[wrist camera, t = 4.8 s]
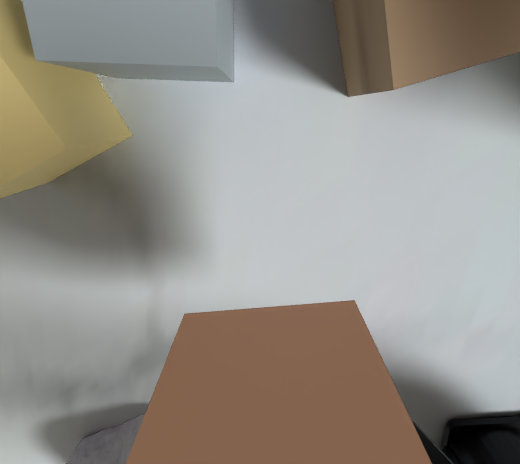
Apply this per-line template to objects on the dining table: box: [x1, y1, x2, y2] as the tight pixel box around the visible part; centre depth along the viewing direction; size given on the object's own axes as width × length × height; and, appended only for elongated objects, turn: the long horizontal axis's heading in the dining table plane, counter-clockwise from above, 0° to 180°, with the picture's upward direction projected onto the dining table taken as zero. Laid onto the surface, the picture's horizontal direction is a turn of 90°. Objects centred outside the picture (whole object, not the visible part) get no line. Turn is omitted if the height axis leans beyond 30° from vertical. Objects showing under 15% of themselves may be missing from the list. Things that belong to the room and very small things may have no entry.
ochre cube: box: [0, 0, 133, 199], centre depth 11 cm, size 5×5×5 cm
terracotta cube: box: [126, 300, 432, 464], centre depth 7 cm, size 5×5×5 cm
